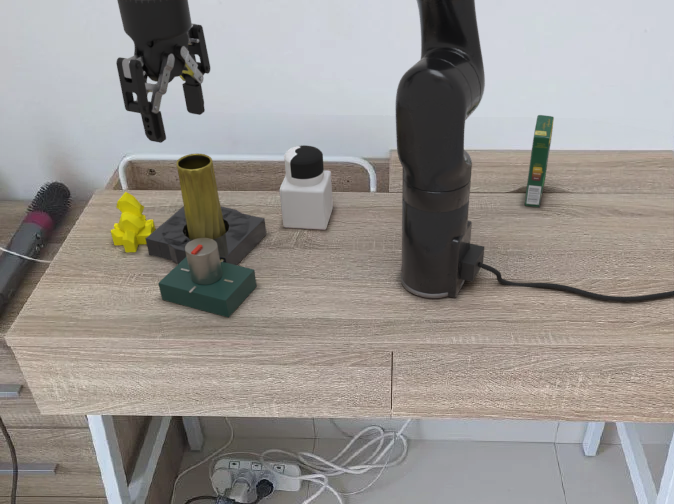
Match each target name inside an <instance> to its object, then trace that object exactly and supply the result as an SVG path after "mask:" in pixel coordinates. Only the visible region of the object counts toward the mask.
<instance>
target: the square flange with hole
mask: <svg viewBox="0 0 674 504" xmlns="http://www.w3.org/2000/svg"><path fill="white" fill-rule="evenodd" d="M220 206H221V205H220ZM221 211H222V217H223V221H224V225H225V230H226V233H225V234H224V235H223V236H221V237H218V238H216V239H213V240H214V241H216V243H217V246H218V252H219V257H220V260H221V259H223V260H224V261H223V262H225V263H229V264H233V265H238V264H240V262H241V261H242V260H243V259H244V258H245V257H246V256H247V255H248V254H249V253H250V252H251V251H252V250H253V249H255V247H256V245H258V244H259V243H260V242H261V241H262V240H263V239H264V238H265V237H266V236H267V227H266V219H265V217H260V216H256V215H251V214H246V213H242V212H241V211H239V210H238V209H236V208H232V207H227V206H221ZM155 229H156V230H155V231H154V232H152V233H151V234H150V235H149V236H148V237H147V238H145V239H146V243H147V244H146V247H147V252H148V255H149V256H153V257H157V258H159V259H165V260H168V261H172V262H173V263H175V264H176V265H178V264H179V263H180V262H181V261H182V260H183V259H184V258H185V257H187V256H186V251H185V246H186V244H187V243H188V242H190V241H192V239H189V234H188V229H187V223H186V217H185V211H184V205H183V206H182V207H181V208H180V209H178V210H177V211H176V212H174V213H173V214H172V215H171V216H170V217H169V218H167V220H165V221H164V222H163V223H162V224H160V225H159V226H158V227H157V228H155Z"/></svg>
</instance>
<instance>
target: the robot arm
mask: <svg viewBox="0 0 674 504" xmlns="http://www.w3.org/2000/svg"><path fill="white" fill-rule="evenodd" d="M116 2H117V5H118V10H119V14H120V18H121V22H122V27H123V31H124V33H125V34H126V35H127V36H128V37H129V38H130V39H131V40H132V42H133V44H134V45H133V47H134V53H133V56H130V57H128V58H126V57H117V59H116V70H117V73H118V79H119V83H120V84H119V85H120V89H121V95H122V100H123V105H124V109H125V110H126V111H127V112H131V113H137V114H139V115H140V117H141V122H142V126H143V131H144V135H145V136H146V138H147V139H148V141H150V142H153V143H163V142H164V141H166V140H167V135H166V130H165V129H166V128H165V125H164V120H163V116H162V111H161V110H160V109H161V105H162V104H161V103H162V99H163V98H162V97H163V96H164V95H166V94H167V91H168V87H169V83H171V82H172V81H173V80H174V79H175V78H177V77H178V78H180V79H181V80H182V81H183V83H182V84H181V85H182V90H183V96H184V102H185V106H186V107H185V108H186V111H187V112H188V113H189V114H193V115H199V116H201V115H202V114H203V113H205V111H206V110H205V99H204V94H203V93H204V92H203V87H202V83H204V75H205V74H207V75H209V74H210V72H211V63H210V57H209V54H208V48H207V42H206V38H205V33H204V27H203V25H202V24H196V23H192V17H191V11H190V7H189V6H190V5H189V0H117V1H116ZM416 3H417V9H418V16H419V26H420V47H421V48H420V60H418V61H417V62H416V63H415V64H413V65H411V67H410V68H409V69H408V70H406V71H405V72H404V73H403V75H402V76H401V78H400V80H399V82H398V84H397V88H396V93H395V108H394V109H395V110H394V111H395V135H396V136H395V137H396V151H397V158H398V161H399V163H400V165H401V167H402V179H401V181H402V183H401V184H402V185H401V187H402V189H401V191H402V193H401V195H402V197H401V198H402V199H401V269H400V270H401V273H400V283H401V285H402V286H403V288H404V289H405V290H406V291H408V292H409V293H410V294H412V295H415V296H417V297H421V298H424V299H425V298H426V299H442V298H447V297H449V298H454V299H455V298H456V297H457V296H458V294H459V292H460V291H461V289H462V288H463V286H464V285H465V282H466V281H468V282H471V283H473V282H474V280H475V279H476V277H477V275H478V274H479V271H480V269H483V270H486V271H487V272H490V273H492V274H494V275H495V276H496V280H497V282H498V283H499V284H501V285H504V286H511V287H525V288H537V289H540V288H541V289H542V288H543V289H554V290H561V291H566V292H570V293H574V294H577V295H581V296H584V297H588V298H592V299H595V300H596V299H597V300H600V301H601V300H602V301H608V302H622V303H623V302H626V303H627V302H640V301H641V302H642V301H649V300H655V299H662V298H668V297H674V290H670V291H665V292H664V291H663V292H658V293H651V294H644V295H634V296H633V295H631V296H620V295H619V296H617V295H606V294H602V293H601V294H600V293H599V294H598V293H595V292H591V291H588V290H585V289H580V288H577V287H573V286H569V285H565V284H560V283H552V282H513V281H509V280H507V279H504V278H502V273H501V272H500V271H499V270H498V269H496V268H495V267H493V266H491V265H488V264H485V263H484V259H485V258H484V257H485V256H484V255H485V246H484V245H479V244H474V243H471V241H472V228H473V227H472V226H473V222H472V221H471V220H469V210H470V209H469V208H470V197H471V196H470V195H471V182H472V169H473V161H472V157H471V155H470V153H469V152H468V151H467V150H465V127H466V120H467V119H468V118H469V117H470V116H471V115H472V114H473V113H474V112H475V111H476V110H477V108H478V107H479V106H480V104H481V102H482V99H483V97H484V93H485V86H486V76H485V66H484V60H483V52H482V46H481V41H480V33H479V27H478V26H479V25H478V20H477V19H478V18H477V11H476V0H416ZM196 56H198V57H199V61H197V58H196ZM148 79H150V80H151V82H152V81H153V82H156V83H149V82H148ZM149 93H151V99H150V101H149V98H148V94H149ZM134 94H135V95H136V100H135V97H134Z"/></svg>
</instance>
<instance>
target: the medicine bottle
mask: <svg viewBox="0 0 674 504" xmlns="http://www.w3.org/2000/svg"><path fill="white" fill-rule="evenodd" d="M323 154H324V153H323V152H322V151H321V149H320V148H318V147H316V146H312V145H305V144H304V145H297V146H292V147H291V148H289V149H287V150H286V151H285V153H284V154H283V159H284V160H283V161H284V170H285V175H284V178H283V180H282V182H281V185H280V188H279V191H278V192H279V201H280V209H281V217H282V225H283V226H282V227H283V228H285V229H286V228H287V229H303V230H305V229H306V230H321V231H322V230H323V231H325V230H327V228H328V225H329V221H330V218H331V216H332V212H333V210H334V202H333V201H334V200H333V185H332V184H333V183H332V171H331V170H326V169H325V167H324V166H325V165H324V155H323Z"/></svg>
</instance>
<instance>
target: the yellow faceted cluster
mask: <svg viewBox="0 0 674 504" xmlns="http://www.w3.org/2000/svg"><path fill="white" fill-rule="evenodd" d="M115 207H116V209H117V210H119V211H120V213H121V214H120V217H119V220H118V222H114V225H113V228H111V230H110V235H111V239H112V242H113V245H114V246H123V248H124V252H125V253H127V254H128V253H137V250H138V248H139V246H140V245H141V246H142V245H147V243H146V239H145V238H147V237H148V236H149V235H150V234H151V233H152V232H154V231H155V230H156V229H157V228H156V225H155V221H154V219H152V218H151V219H147V216H146V215H145V214H144V213H143V212H144V209H145V206H144V205H143V204H142V203H140V201H139V200H138V199H137V198H136V197H135V195H133V194H132V193H129V192H127V191H125V192H124V193H123V194H122V195H121V196H120V198H119V199H118V200H117V201H116V206H115Z"/></svg>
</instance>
